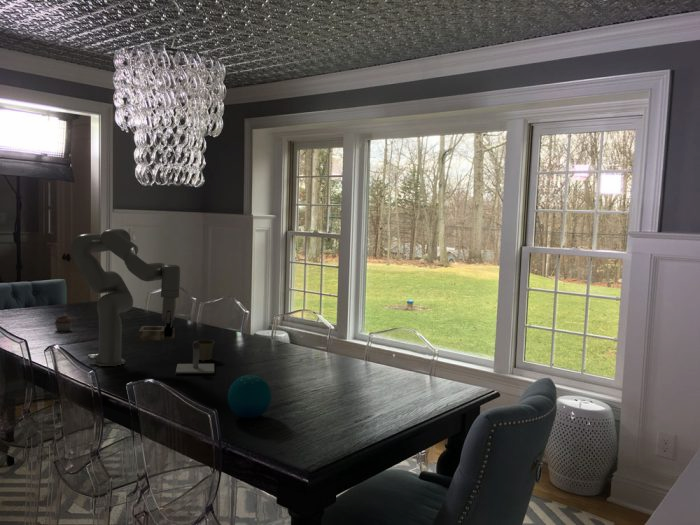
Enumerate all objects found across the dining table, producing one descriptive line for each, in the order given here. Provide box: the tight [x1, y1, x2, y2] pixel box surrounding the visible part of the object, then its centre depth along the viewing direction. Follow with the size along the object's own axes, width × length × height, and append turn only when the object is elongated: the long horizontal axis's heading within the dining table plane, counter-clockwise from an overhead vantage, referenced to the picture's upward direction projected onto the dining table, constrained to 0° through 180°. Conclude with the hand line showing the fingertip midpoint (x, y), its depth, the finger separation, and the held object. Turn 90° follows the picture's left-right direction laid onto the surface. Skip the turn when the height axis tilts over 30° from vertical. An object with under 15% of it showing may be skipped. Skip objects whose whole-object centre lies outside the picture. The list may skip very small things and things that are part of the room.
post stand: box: [175, 340, 215, 374], centre depth 266 cm, size 16×13×13 cm
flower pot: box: [197, 339, 216, 361], centre depth 286 cm, size 9×9×9 cm
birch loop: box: [138, 325, 175, 341], centre depth 261 cm, size 14×10×4 cm
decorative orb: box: [227, 374, 272, 419], centre depth 210 cm, size 15×15×15 cm
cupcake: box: [54, 312, 73, 333], centre depth 332 cm, size 9×9×10 cm
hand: (168, 335), depth 262 cm, fingers closed on birch loop, 3 cm apart
